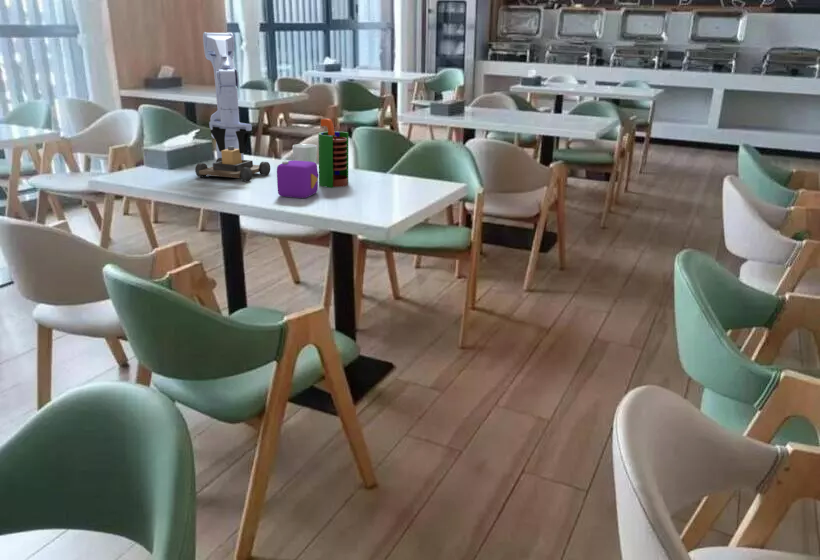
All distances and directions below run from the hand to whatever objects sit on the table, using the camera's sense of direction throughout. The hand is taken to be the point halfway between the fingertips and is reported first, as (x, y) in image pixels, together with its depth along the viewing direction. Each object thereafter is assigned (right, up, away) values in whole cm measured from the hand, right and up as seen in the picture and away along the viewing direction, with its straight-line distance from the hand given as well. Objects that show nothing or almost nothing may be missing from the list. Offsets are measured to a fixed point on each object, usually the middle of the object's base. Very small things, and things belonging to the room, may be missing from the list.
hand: (232, 152), depth 219 cm
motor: (+33, -12, -7) cm, 36 cm away
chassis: (0, -7, +3) cm, 8 cm away
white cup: (+23, -7, +5) cm, 25 cm away
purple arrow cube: (+25, -16, -20) cm, 36 cm away
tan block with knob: (0, -5, +1) cm, 5 cm away
